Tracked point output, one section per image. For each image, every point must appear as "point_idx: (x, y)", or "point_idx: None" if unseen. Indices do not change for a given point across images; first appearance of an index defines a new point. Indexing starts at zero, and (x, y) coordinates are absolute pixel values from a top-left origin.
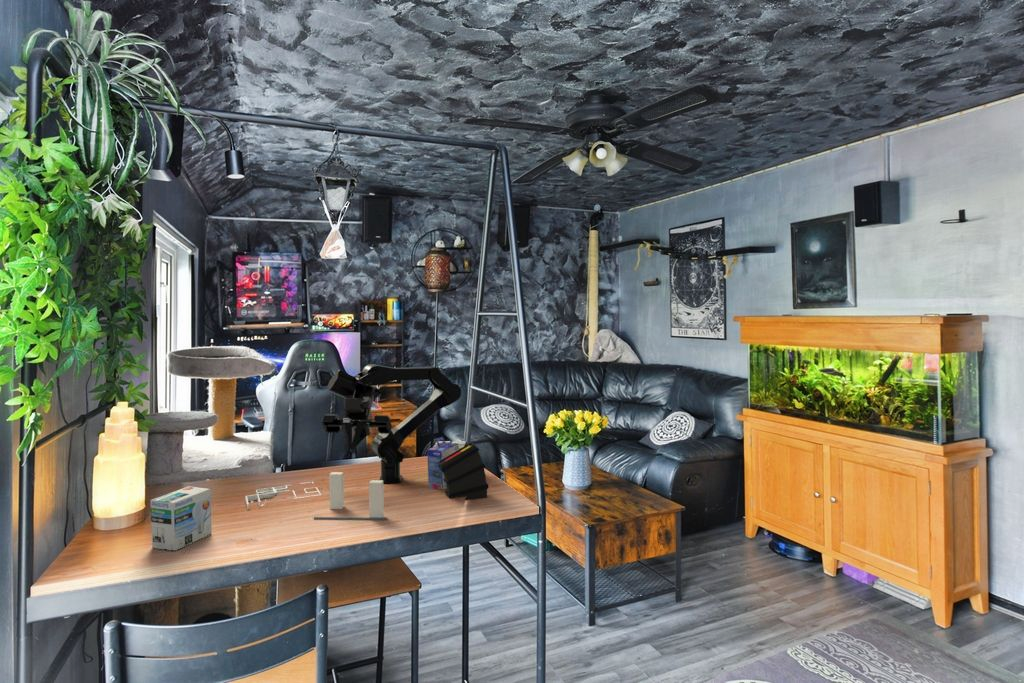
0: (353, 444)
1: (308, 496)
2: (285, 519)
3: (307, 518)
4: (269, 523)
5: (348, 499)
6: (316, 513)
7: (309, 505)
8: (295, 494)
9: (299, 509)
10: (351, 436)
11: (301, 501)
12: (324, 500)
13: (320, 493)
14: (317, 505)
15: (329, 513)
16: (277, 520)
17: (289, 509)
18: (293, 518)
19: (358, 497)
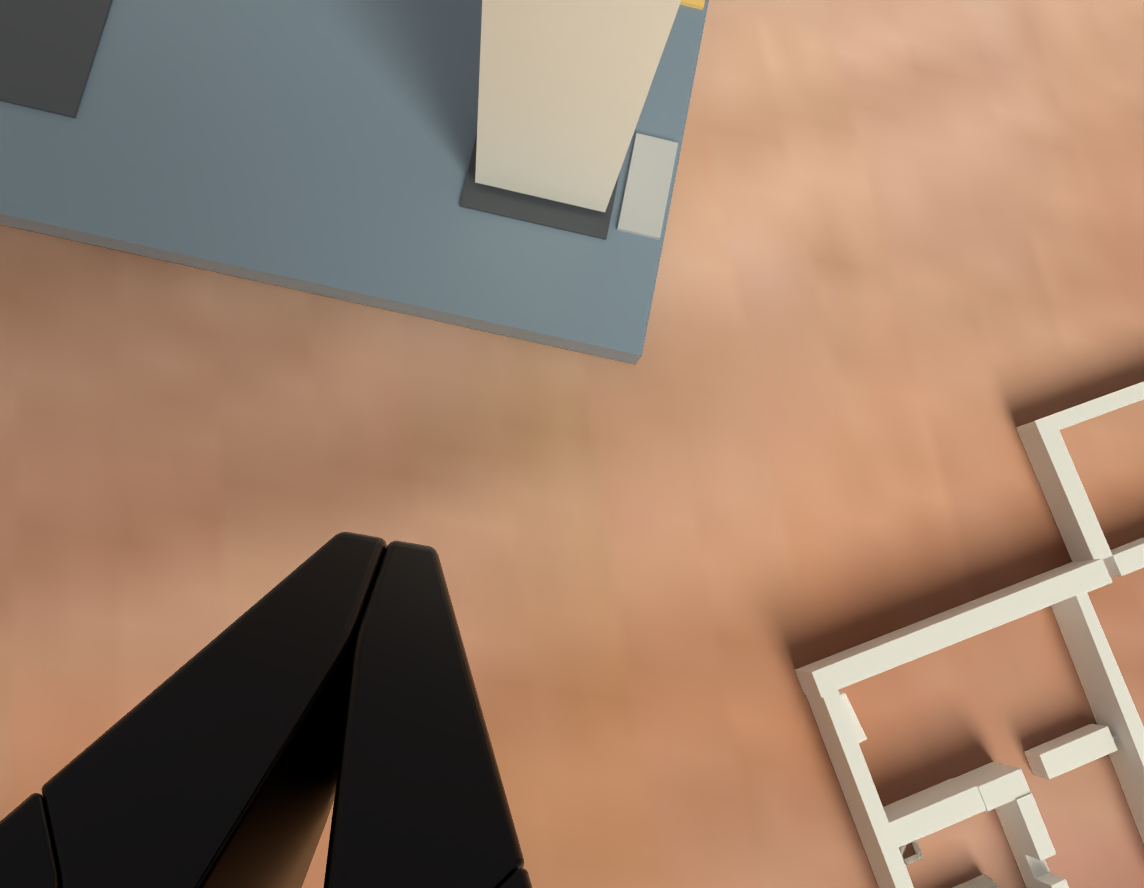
0: (283, 606)
1: (955, 620)
2: (1007, 81)
3: (809, 63)
4: (1117, 11)
5: (469, 589)
6: (752, 183)
7: (881, 448)
8: (1131, 733)
9: (953, 337)
10: (339, 879)
11: None
12: (751, 598)
13: (838, 726)
14: (794, 432)
15: None
16: (1072, 70)
17: (1054, 356)
18: (941, 91)
19: None
